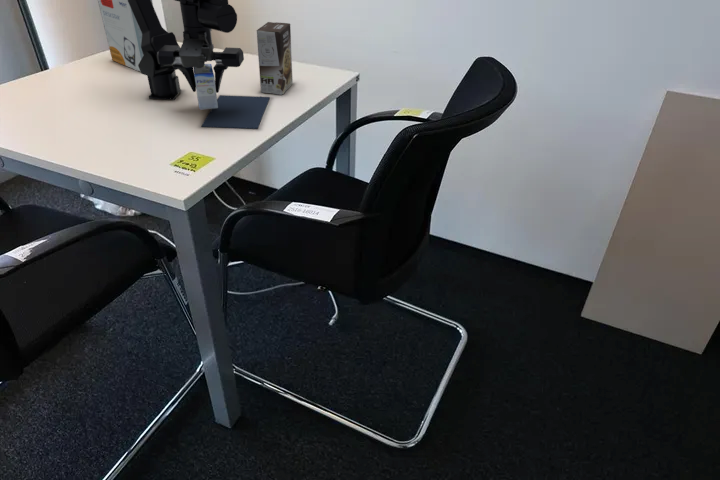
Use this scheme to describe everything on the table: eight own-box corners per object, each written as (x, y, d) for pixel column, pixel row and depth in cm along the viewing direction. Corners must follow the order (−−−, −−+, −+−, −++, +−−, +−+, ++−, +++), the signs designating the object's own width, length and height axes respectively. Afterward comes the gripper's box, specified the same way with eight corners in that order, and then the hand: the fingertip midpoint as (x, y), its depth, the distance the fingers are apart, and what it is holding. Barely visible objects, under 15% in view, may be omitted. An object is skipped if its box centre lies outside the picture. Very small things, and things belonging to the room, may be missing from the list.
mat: (201, 127, 124) (201, 125, 124) (219, 96, 140) (219, 95, 140) (257, 129, 124) (257, 127, 124) (269, 98, 140) (269, 97, 140)
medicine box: (197, 99, 133) (192, 64, 129) (216, 98, 135) (211, 62, 130) (199, 110, 127) (193, 73, 122) (218, 108, 128) (213, 72, 124)
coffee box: (283, 95, 142) (280, 32, 132) (260, 92, 143) (255, 29, 133) (293, 83, 149) (291, 22, 139) (271, 81, 150) (267, 20, 140)
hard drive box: (111, 61, 159) (93, -12, 147) (133, 55, 164) (118, -16, 152) (142, 73, 151) (126, -3, 140) (165, 66, 156) (152, -7, 145)
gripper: (142, 32, 113) (156, 103, 123) (230, 36, 114) (238, 106, 123) (159, 19, 122) (171, 85, 132) (240, 22, 122) (247, 88, 132)
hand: (206, 91), depth 129 cm, fingers closed on medicine box, 5 cm apart
